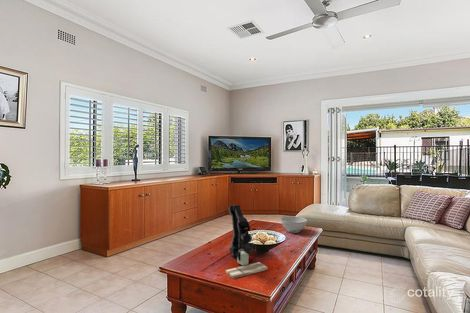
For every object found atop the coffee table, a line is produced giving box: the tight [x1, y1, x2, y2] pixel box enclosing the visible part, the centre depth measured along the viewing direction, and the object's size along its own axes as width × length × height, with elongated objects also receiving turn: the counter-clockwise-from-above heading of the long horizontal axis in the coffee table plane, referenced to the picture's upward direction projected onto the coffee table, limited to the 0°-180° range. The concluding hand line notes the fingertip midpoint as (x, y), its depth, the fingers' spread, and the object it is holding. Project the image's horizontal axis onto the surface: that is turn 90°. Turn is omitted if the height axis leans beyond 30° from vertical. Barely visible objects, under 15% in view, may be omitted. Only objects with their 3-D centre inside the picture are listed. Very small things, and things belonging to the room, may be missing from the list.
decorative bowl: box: [280, 215, 308, 234], centre depth 266 cm, size 27×27×12 cm
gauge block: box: [236, 250, 250, 266], centre depth 184 cm, size 10×5×7 cm, turn 31°
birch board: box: [225, 261, 269, 280], centre depth 174 cm, size 10×27×2 cm, turn 120°
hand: (242, 260), depth 183 cm, fingers closed on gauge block, 5 cm apart
